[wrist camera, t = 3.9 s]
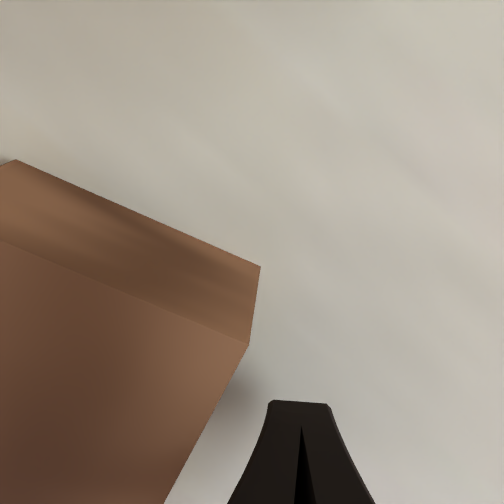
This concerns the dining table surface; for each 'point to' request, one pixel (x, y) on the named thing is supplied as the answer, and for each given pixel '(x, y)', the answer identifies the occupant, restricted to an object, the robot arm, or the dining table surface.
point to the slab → (107, 343)
